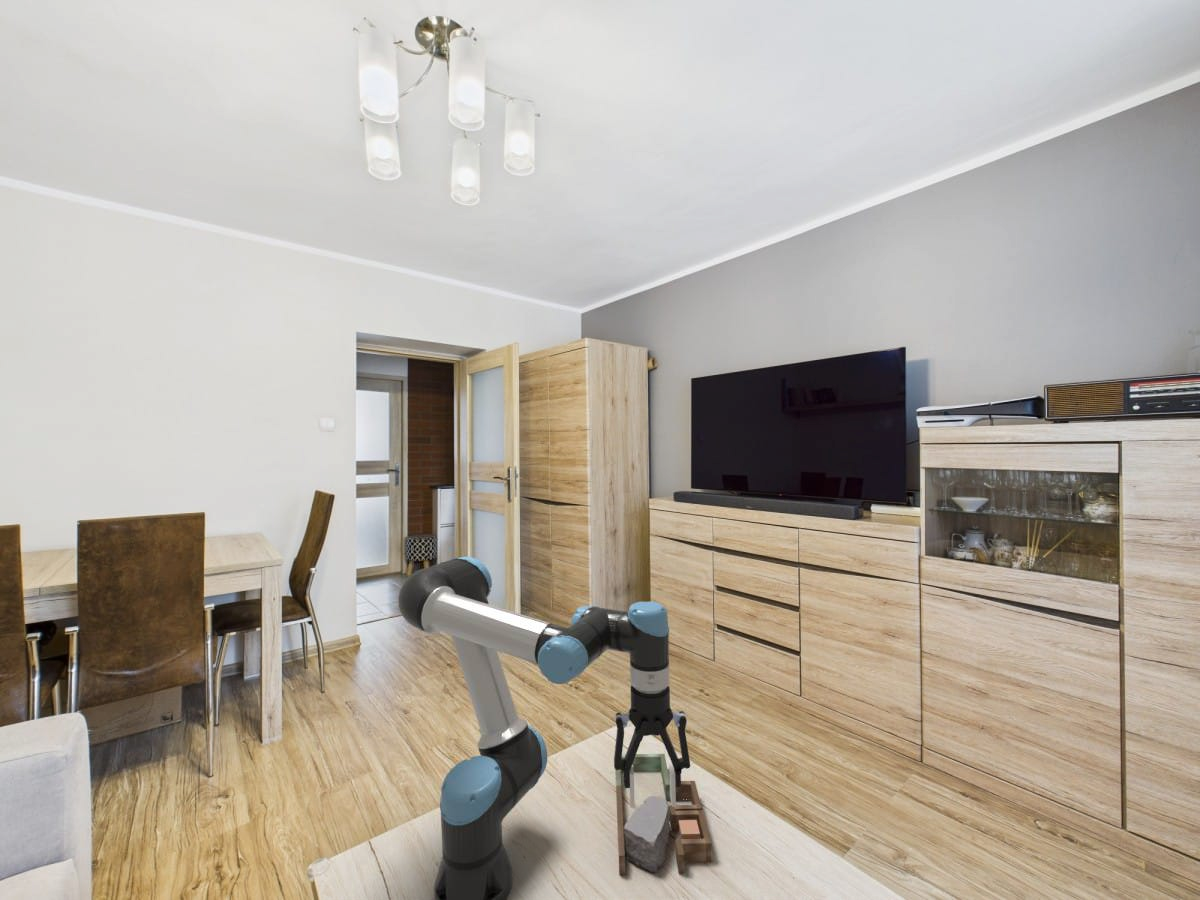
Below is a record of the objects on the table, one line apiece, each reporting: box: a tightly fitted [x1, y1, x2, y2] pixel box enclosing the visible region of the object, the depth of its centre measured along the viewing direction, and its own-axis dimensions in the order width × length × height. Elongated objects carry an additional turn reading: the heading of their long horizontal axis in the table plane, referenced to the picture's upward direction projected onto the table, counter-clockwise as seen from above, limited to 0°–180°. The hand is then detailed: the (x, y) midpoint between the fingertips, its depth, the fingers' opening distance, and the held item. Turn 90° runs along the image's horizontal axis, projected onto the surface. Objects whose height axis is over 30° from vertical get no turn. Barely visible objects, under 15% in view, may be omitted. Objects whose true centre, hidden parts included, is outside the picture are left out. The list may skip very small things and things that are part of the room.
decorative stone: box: [623, 795, 671, 873], centre depth 111 cm, size 15×7×10 cm
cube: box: [678, 820, 700, 839], centre depth 111 cm, size 4×4×4 cm
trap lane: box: [614, 753, 713, 876], centre depth 120 cm, size 20×33×4 cm, turn 0°
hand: (652, 802), depth 98 cm, fingers open, 7 cm apart
